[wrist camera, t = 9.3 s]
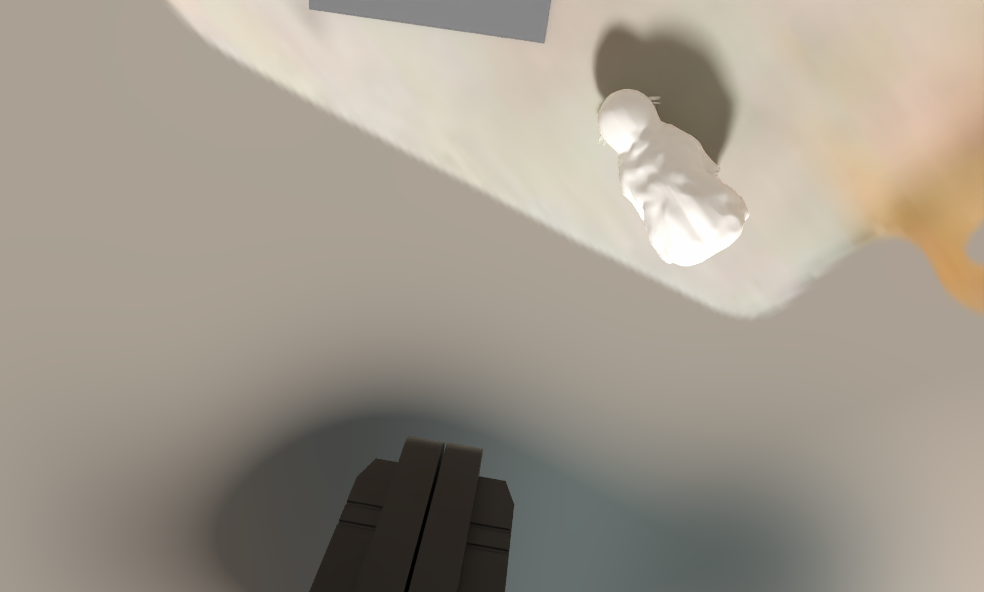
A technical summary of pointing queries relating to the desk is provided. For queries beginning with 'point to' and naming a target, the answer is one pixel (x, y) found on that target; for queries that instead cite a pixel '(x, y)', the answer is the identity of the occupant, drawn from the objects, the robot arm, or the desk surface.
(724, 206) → the white figurine
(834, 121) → the desk surface
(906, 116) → the desk surface
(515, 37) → the charcoal mat
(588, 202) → the desk surface
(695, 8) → the desk surface
